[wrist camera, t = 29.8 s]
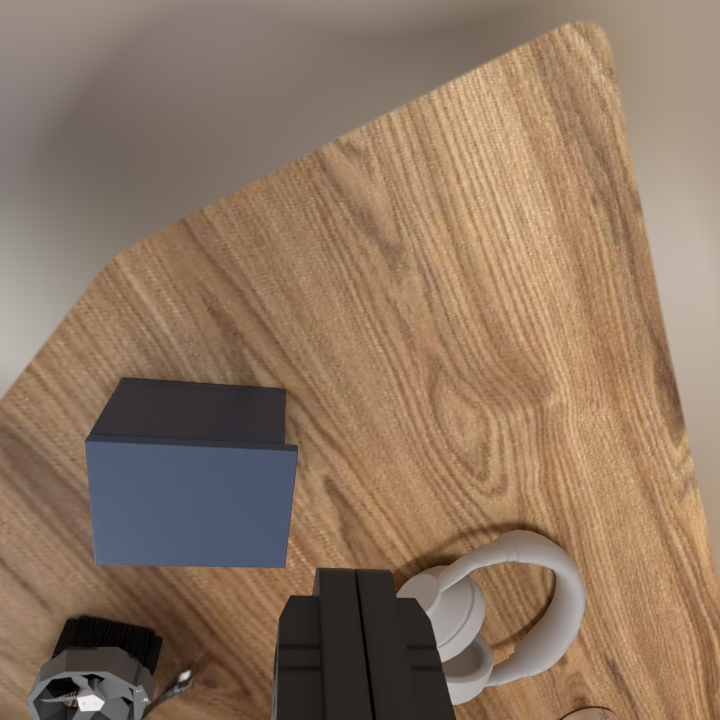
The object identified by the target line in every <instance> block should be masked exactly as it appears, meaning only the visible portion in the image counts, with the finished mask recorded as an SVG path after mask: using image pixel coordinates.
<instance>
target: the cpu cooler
mask: <svg viewBox="0 0 720 720" xmlns="http://www.w3.org/2000/svg"><path fill="white" fill-rule="evenodd" d="M83 617H84V619H85V616H83ZM79 618H80V617H79ZM86 618H87V620H88V617H86ZM82 619H83V618H82ZM84 619H83V621H84ZM78 620H79V619H78ZM87 620H86V622H87ZM94 620H95V618H94ZM94 620H93V619H92V621H93V623H95V622H94ZM83 621H82V620H81V622H82V624H83ZM90 621H91V620H90ZM92 621H91V624H92V625H93V623H92ZM97 621H98V619H97ZM99 621H100V623H101V625H102V627H103V629H104V631H105V632H106V630H105V628H106V626H108V625H107V623H108V621H107V623H106V621H105V624H106V626H105V624H104V621H103V620H102V622H103V624H104V626H105V628H104V626H103V624H102V622H101V620H99ZM99 621H98V624H99V625H100V623H99ZM79 622H80V621H79ZM81 622H80V624H79V623H78V621H77V622H75V621H71V620H67V621H66V624H65V626H64V629H63V631H62V633H61V636H60V638H59V640H58V643H57V645H56V648H55V650H54V653H53V656H52V659H50V660H49V661H48V662H46V663H45V664H44V665H42V666H41V669H40V671H39V673H38V676H37V678H36V680H35V683H34V685H33V687H32V690H31V692H30V695H29V697H28V699H27V701H28V705H29V709H30V713H31V717H32V719H34V720H140V719H141V718H142V714H143V711H144V707H145V706H146V704H149V703H151V702H152V698H153V694H154V690H155V686H156V684H155V682H154V680H153V678H152V675H153V673H154V671H155V669H156V666H157V662H158V657H159V653H160V649H161V645H162V641H163V639H157V638H155V636H154V633H153V632H152V633H153V636H154V638H153V636H152V635H151V633H150V635H151V637H152V638H151V637H150V635H149V634H148V632H150V631H149V630H148V632H147V631H146V629H145V631H146V633H147V634H146V633H145V631H144V629H142V630H143V632H142V630H141V628H139V629H140V631H139V629H138V628H137V627H136V628H137V630H136V628H134V629H135V631H134V630H133V627H132V626H131V628H132V630H133V632H134V633H132V630H131V628H130V626H129V628H128V631H127V633H126V630H127V629H126V627H127V625H125V626H126V627H125V626H124V625H123V626H124V629H125V630H124V629H123V626H122V625H121V624H120V625H121V627H120V625H119V628H120V630H119V628H118V630H117V629H116V627H118V626H117V624H118V623H117V624H115V625H116V627H114V628H115V629H113V626H114V623H113V625H112V624H111V622H110V624H109V627H108V629H107V628H106V629H107V632H106V634H105V633H104V631H103V629H102V627H101V625H100V627H99V625H98V624H97V622H96V624H97V626H98V628H99V630H100V632H99V630H98V628H97V626H96V624H95V627H96V629H97V630H96V629H95V627H94V629H93V628H92V625H91V624H90V623H89V624H90V626H91V628H92V629H93V632H94V634H95V635H94V634H93V632H92V630H91V628H90V626H89V625H88V626H89V629H90V631H91V632H92V634H91V633H90V631H89V629H88V627H87V625H86V623H85V622H84V623H85V625H86V627H87V629H88V632H89V633H90V635H91V636H90V635H89V633H88V632H87V629H86V628H85V625H84V624H83V626H84V628H85V630H86V631H85V630H84V628H83V626H82V624H81ZM88 622H89V621H88ZM87 624H88V623H87ZM110 625H112V628H111V627H110ZM81 626H82V627H81ZM93 626H94V625H93ZM100 628H101V629H100ZM109 628H111V630H110V629H109ZM121 628H122V629H121ZM112 629H113V631H114V632H112ZM129 629H130V630H129ZM94 630H95V631H94ZM101 630H102V631H101ZM115 630H116V631H117V632H116V631H115ZM122 630H123V631H122ZM97 631H98V632H97ZM108 631H110V633H109V632H108ZM118 631H119V633H118ZM130 631H131V632H130ZM95 632H96V633H95ZM102 632H103V633H102ZM111 632H112V634H111ZM98 633H99V634H98ZM100 633H101V634H100ZM107 633H108V634H107ZM114 633H115V634H116V635H115V634H114ZM121 633H122V634H121ZM96 634H97V635H96ZM103 634H104V635H105V637H104V635H103ZM117 634H118V635H117ZM125 634H126V635H125ZM131 634H132V635H131ZM155 634H156V633H155ZM92 635H93V636H92ZM99 635H100V636H99ZM101 635H102V636H103V638H104V639H103V638H102V636H101ZM110 635H111V636H110ZM97 636H98V637H97ZM93 637H94V638H93ZM124 637H125V638H124ZM98 638H99V639H98ZM109 638H110V639H109ZM94 639H95V640H94ZM101 639H102V640H101ZM102 641H103V642H102ZM74 691H75V692H76V694H75V693H74ZM72 692H73V693H72ZM77 692H78V693H77ZM68 693H69V695H70V696H69V695H68ZM70 693H72V696H71V694H70ZM66 694H67V695H68V697H67V695H66ZM73 694H74V695H75V696H73ZM62 695H63V696H64V695H66V697H62ZM76 695H77V696H76ZM60 696H61V698H59V697H60ZM76 699H77V701H78V703H77V702H76V703H77V705H76V704H75V701H76ZM71 700H73V702H74V704H75V705H76V707H74V704H73V702H71V703H72V705H73V707H72V705H71V707H70V706H69V705H68V706H67V704H68V702H67V701H71ZM74 700H75V701H74ZM62 701H64V703H65V701H66V702H67V704H66V703H65V704H66V705H65V704H64V703H63V702H62ZM69 703H70V702H69ZM78 704H79V706H78ZM77 706H78V707H77Z"/></svg>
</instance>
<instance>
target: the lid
mask: <svg viewBox="0 0 720 720" xmlns="http://www.w3.org/2000/svg"><path fill="white" fill-rule="evenodd" d="M85 445H86V458H87V470H88V482H89V494H90V507H91V519H92V531H93V544H94V556H95V564H96V565H147V566H204V567H262V568H285V564H286V555H287V546H288V537H289V528H290V519H291V510H292V501H293V492H294V483H295V474H296V465H297V456H298V446H297V445H288V444H269V443H250V442H230V441H211V440H192V439H173V438H154V437H135V436H116V435H97V434H89V435H88V437H87V439H86V441H85Z"/></svg>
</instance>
